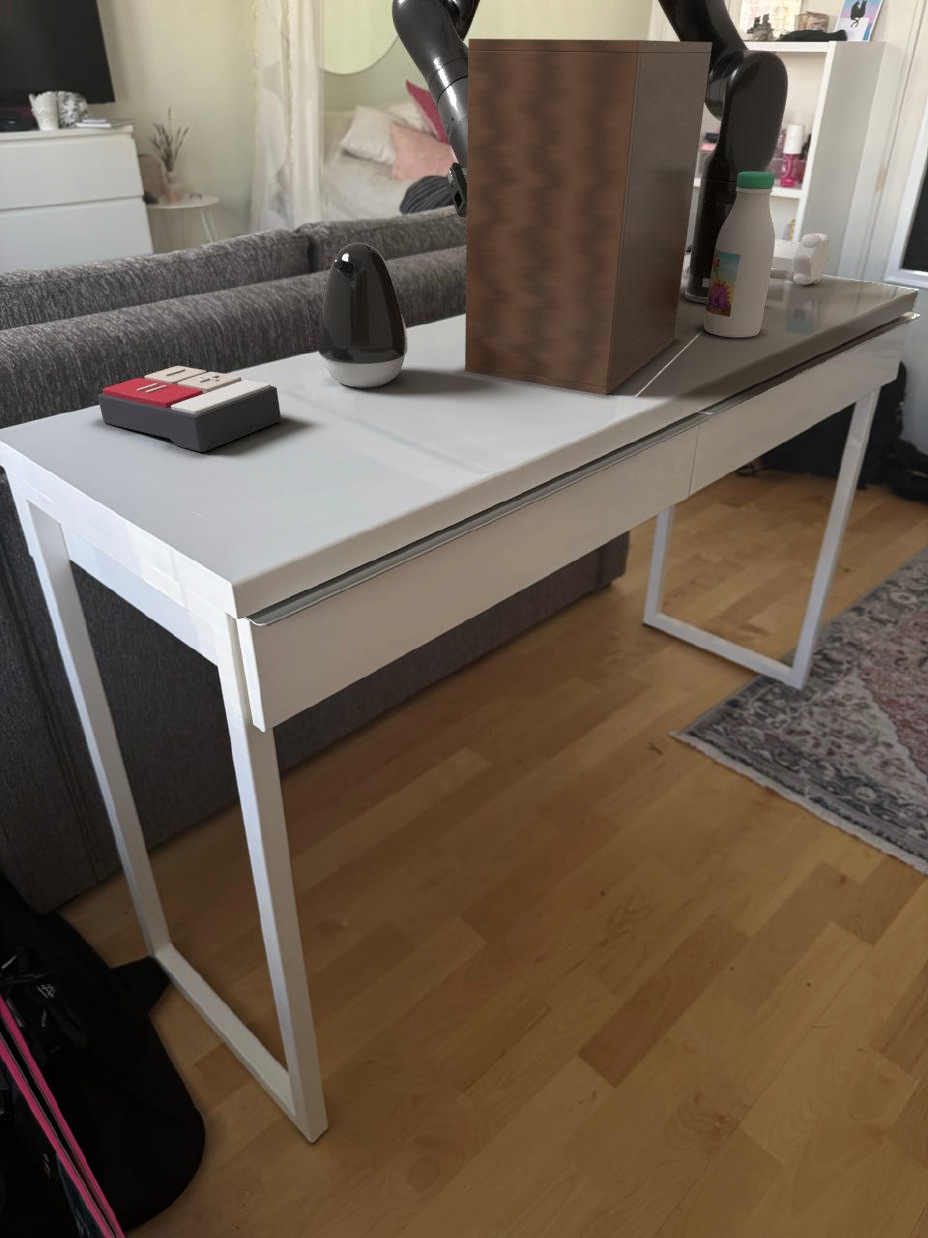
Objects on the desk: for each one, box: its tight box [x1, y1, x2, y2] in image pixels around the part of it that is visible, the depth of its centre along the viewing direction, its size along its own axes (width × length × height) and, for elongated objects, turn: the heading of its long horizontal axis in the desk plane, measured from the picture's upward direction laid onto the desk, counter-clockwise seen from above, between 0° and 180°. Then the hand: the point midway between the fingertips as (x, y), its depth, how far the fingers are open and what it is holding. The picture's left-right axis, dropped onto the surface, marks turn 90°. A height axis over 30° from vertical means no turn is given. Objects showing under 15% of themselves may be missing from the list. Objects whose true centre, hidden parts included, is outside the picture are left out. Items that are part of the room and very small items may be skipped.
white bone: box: [771, 232, 831, 286], centre depth 155 cm, size 15×9×8 cm, turn 47°
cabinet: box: [464, 38, 712, 396], centre depth 108 cm, size 18×26×34 cm
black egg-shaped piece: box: [317, 242, 409, 389], centre depth 103 cm, size 10×10×15 cm
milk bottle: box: [703, 171, 776, 338], centre depth 123 cm, size 8×8×20 cm
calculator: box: [97, 365, 282, 453], centre depth 94 cm, size 11×4×15 cm
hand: (524, 238), depth 115 cm, fingers open, 8 cm apart
